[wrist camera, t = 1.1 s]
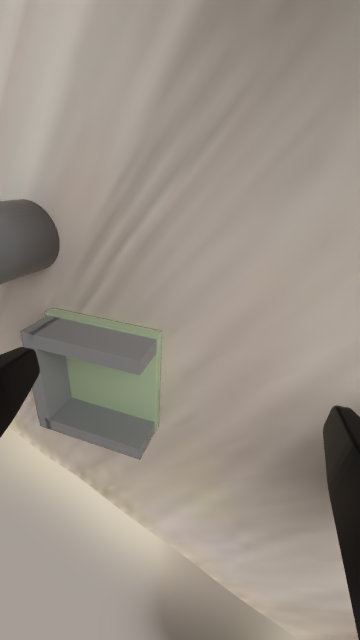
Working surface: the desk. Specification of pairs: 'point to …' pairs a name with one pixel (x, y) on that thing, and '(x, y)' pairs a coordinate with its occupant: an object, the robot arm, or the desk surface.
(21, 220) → the gray capsule
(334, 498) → the robot arm
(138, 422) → the tray
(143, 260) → the desk surface
